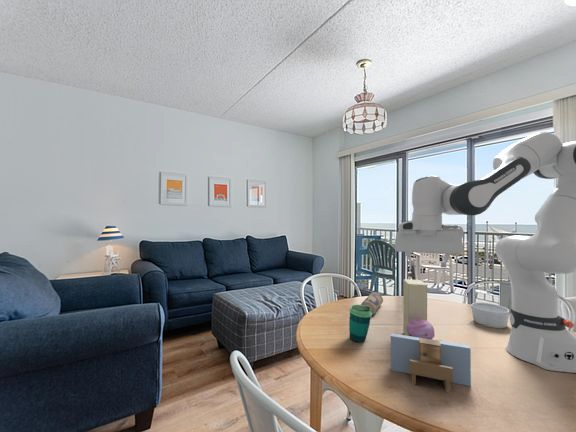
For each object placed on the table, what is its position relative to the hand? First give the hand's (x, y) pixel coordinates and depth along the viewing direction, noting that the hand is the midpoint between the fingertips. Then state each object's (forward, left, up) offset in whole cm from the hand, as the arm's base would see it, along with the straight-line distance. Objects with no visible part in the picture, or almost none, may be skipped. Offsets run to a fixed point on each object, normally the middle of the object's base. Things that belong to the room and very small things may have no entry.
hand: (427, 266), depth 89 cm
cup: (+22, -2, -29) cm, 37 cm away
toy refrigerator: (+3, -12, -29) cm, 32 cm away
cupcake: (+2, -3, -29) cm, 29 cm away
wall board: (+1, +17, -29) cm, 33 cm away
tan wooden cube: (+1, +17, -25) cm, 30 cm away
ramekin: (-27, -40, -29) cm, 57 cm away
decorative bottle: (+23, -36, -29) cm, 51 cm away
